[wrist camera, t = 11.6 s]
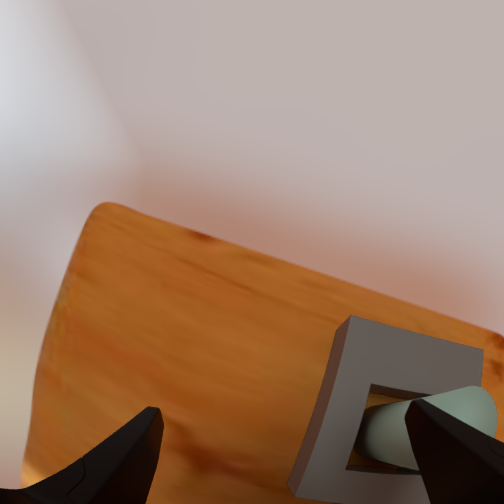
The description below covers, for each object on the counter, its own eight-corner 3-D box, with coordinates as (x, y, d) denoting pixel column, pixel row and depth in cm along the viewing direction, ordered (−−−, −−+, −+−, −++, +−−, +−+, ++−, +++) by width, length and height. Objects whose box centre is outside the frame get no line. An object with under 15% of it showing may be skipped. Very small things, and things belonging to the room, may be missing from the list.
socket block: (427, 494, 15) (452, 501, 11) (286, 483, 17) (294, 497, 13) (458, 360, 21) (483, 349, 18) (336, 329, 24) (351, 314, 20)
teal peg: (362, 467, 17) (447, 494, 7) (340, 423, 19) (418, 425, 9) (407, 437, 18) (505, 433, 8) (387, 394, 20) (479, 368, 10)
